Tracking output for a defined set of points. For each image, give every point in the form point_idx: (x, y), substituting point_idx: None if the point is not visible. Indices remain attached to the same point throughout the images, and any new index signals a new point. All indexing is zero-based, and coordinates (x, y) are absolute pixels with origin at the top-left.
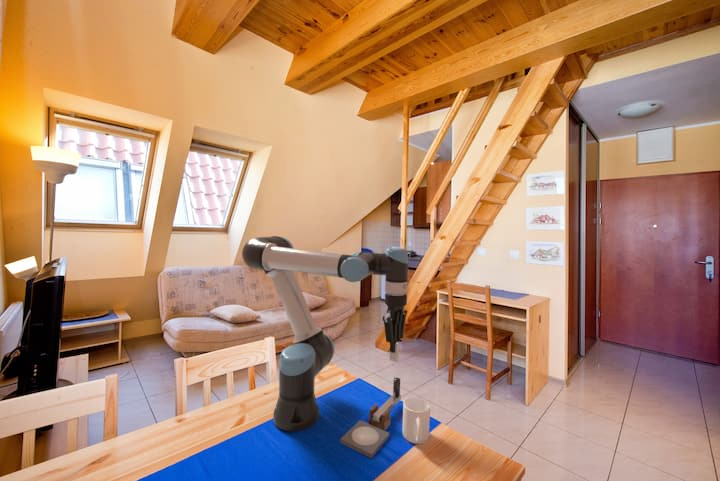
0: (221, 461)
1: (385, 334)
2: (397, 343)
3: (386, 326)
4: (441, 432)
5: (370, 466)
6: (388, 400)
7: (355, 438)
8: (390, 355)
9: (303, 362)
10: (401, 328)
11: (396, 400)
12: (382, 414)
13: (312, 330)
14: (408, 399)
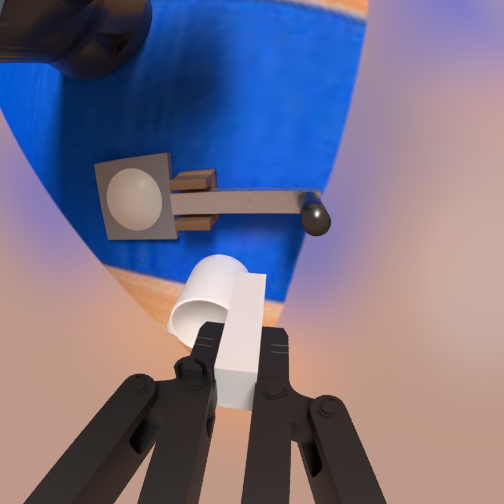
0: (3, 76)
1: (85, 428)
2: (227, 406)
3: (49, 497)
4: (267, 315)
5: (100, 244)
6: (263, 194)
7: (112, 189)
8: (233, 294)
9: None
10: (318, 499)
11: (285, 212)
12: (175, 223)
13: None
14: (217, 301)
